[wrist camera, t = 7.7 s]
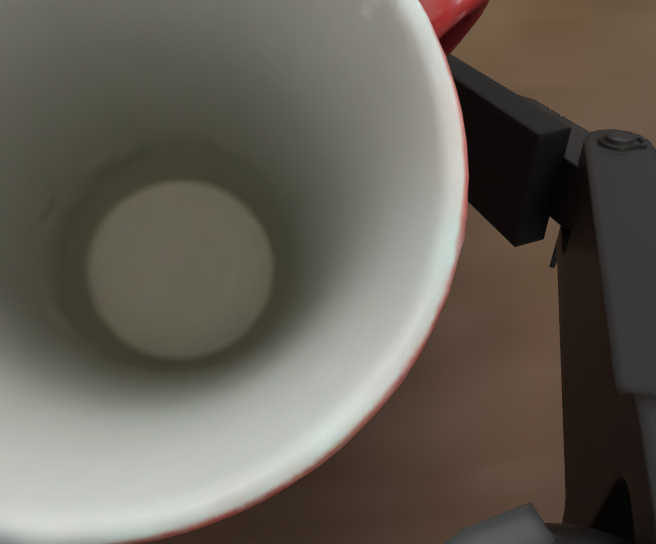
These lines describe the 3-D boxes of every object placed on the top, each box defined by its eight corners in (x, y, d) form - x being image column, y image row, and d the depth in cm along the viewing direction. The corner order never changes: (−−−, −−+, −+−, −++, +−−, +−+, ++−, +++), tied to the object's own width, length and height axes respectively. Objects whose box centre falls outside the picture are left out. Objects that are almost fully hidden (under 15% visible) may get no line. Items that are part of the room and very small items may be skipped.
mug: (153, 461, 18) (-25, 773, 5) (-10, 247, 18) (-629, -1, 5) (425, 246, 21) (762, 91, 8) (287, 61, 21) (397, -409, 8)
